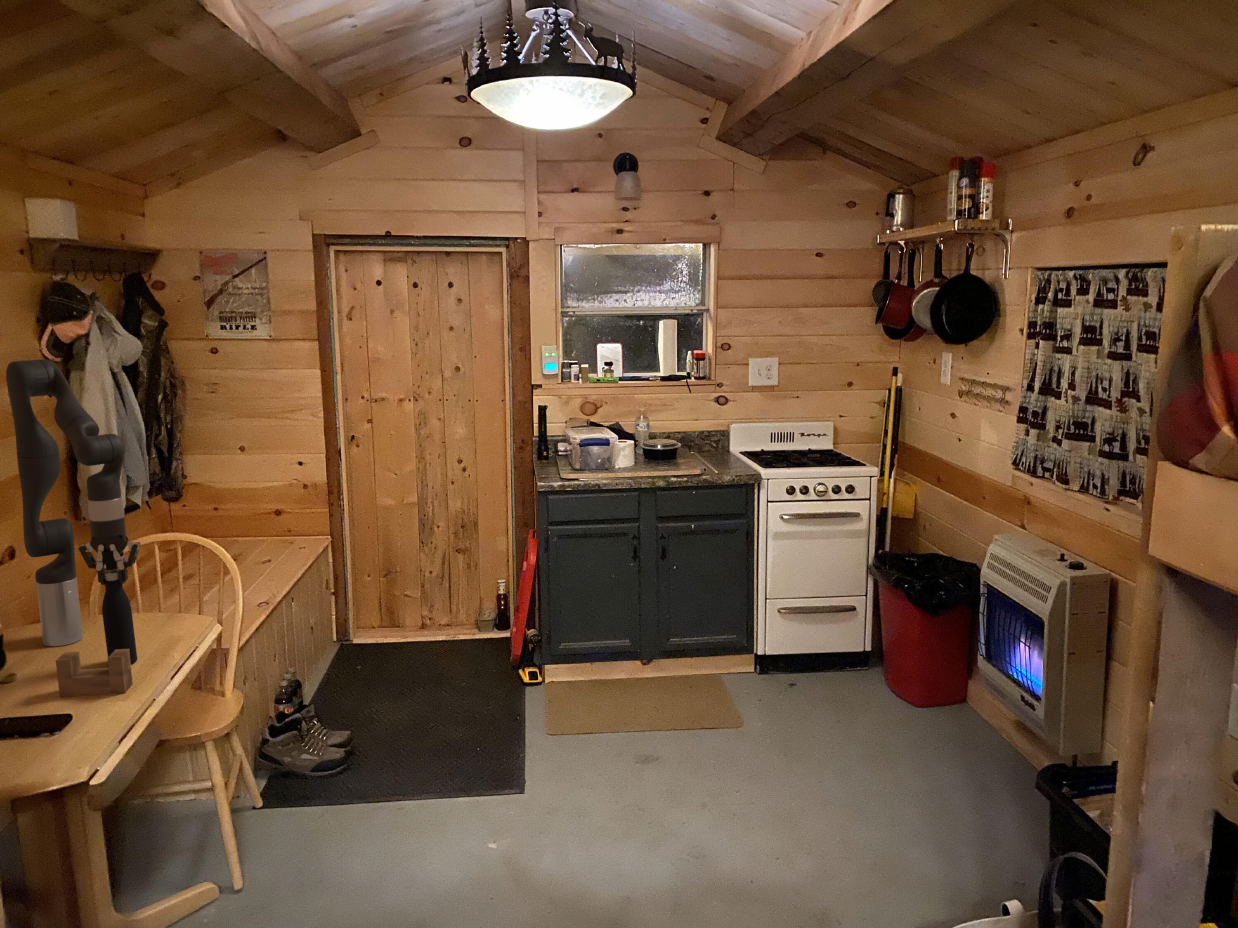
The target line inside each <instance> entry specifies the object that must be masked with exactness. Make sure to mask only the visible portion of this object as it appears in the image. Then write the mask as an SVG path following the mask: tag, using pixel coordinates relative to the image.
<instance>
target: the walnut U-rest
mask: <svg viewBox="0 0 1238 928" xmlns="http://www.w3.org/2000/svg"><path fill="white" fill-rule="evenodd" d="M55 666H56V675H57V684H58V693H59V698H72V697H73V698H74V697H85V696H102V695H103V696H105V695H119V694H126V692H128V691H129V689H131V687H132V686H133V684H134V683H133V674H132V673H133V672H132V664H131V662H130V652H129V649H116V650H115V651H114V652H113V653H112V654H111V655H110V656H109V657H108V656H107V667H104V668H103V667H102V668H100V667H99V668H84V669H83V668H82V669H81V660H80V651H65V652H64V653H63V654H61V655H60V656H59V657H58V658H57V659H55Z"/></svg>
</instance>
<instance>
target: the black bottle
mask: <svg viewBox="0 0 1238 928" xmlns="http://www.w3.org/2000/svg"><path fill="white" fill-rule="evenodd" d="M102 564H105V568H106V572H105V576H106V577H105V578H106V579H105V585H104V587H105V592H104V595H103V600H102V606H101V615H102V622H103V628H104V629H103V630H104V637H105V638H104V639H105V644H106V645H105V646H106V647H105V648H106V653H107V658H108V657H109V656H110V655H111V654H112V653H113V652H114V651H115V650H116V649H129V652H130V662H131V665H134V664H135V663H136V662H138V661H137V660H138V653H137V647H136V635H135V627H134V619H133V611H132V606H131V602H130V600H129V597H128V595H127V593H126V591H125V589H124V587H123V585H124V584H120V581H119V571H118V570H119V566H118V564H117V562H116V561H115V558H114V554H113V551H102Z"/></svg>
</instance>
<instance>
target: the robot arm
mask: <svg viewBox="0 0 1238 928" xmlns="http://www.w3.org/2000/svg"><path fill="white" fill-rule="evenodd" d="M5 371H6V372H5V380H6V386H7V392H8V397H9V402H10V407H11V411H12V417H13V419H12V420H13V424H14V433H15V446H16V458H17V468H18V476H19V483H20V489H21V490H20V491H21V499H22V524H23V525H22V526H23V544H24V548H25V550H26V551H25V552H26V553H27V555H28V556H29V557H30V558H41V557H42V558H43V557H48V556H53V555H54V556H55V555H57V556H56V557H55V558H54V559H53V560H52V561H51V562H48V563H47V564H45V565H44V566H41V567H39V568H38V569H37V570H36V571H35V574H34V577H35V587H36V594H37V603H38V611H39V620H40V627H41V638H42V644H43V646H47V647H59V646H60V647H61V646H66V645H71V644H74V643H77V642H80V640H82V639H83V638H84V635H83V634H84V633H83V623H82V616H81V615H82V614H81V606H80V596H79V586H78V579H77V566H76V565H77V564H76V555H75V554H76V552H75V533H74V528H73V525H72V522H71V521H70V520H69V519H68V518H66V517H63V518H54V519H47V520H40V517H41V512H42V509H43V508H42V507H43V505H44V503H45V501H46V498H47V497H48V495H49V493H50V492H51V490H52V489H53V487H54V486H55V484H56V482H57V481H58V478H59V477H60V474H61V469H62V466H61V457H60V456H61V455H60V448H59V445H58V443H57V441H56V440H55V439H54V437H53V436H52V435H51V434H50V432H49V431H48V430H47V429H46V428H45V427H44V426H43V425H42V423H40V421H39V420H38V418H37V416H36V415H35V413H34V410H33V407H32V403H31V398H33V397H35V398H36V397H46V396H53V397H54V399H56V402H55V407H54V411H53V416H54V421H55V423H56V425H57V427H58V428H59V429H60V430H61V431H62V432H63V434H64V435H65V436H66V437H67V439H68V440H69V442H70V445H71V447H72V449H73V454H74V457H75V459H76V461H77V462H79V463H80V464H81V465H83V466H88V467H93V466H100V465H103V466H102V469H101V470H100V471H97V472H96V473H94V474H91V475H90V476H89V475H88V477H87V479H86V490H87V491H86V493H87V499H88V500H87V501H88V505H87V510H88V511H87V512H88V520H89V531H90V537H91V539H90V541H89V543H83V544H82V545H80V546H79V547H78V551H79V552H80V555H81V557H82V558H83V560H84V562H85V564H86V565H87V568H88V569H93V570H96V573H97V575H96V576H97V581H98V583H100V586H101V585H102V586H105V579H106V578H105V577H106V576H105V572H107V571H106V565H105V564H102V551H113V554H114V558H115V561H116V562H117V567H118V569H117V570H118V571H119V581H120V584H122V585H124V584H125V583H126V582H127V581H128V579H129V572H128V568H130V567H132V566H133V565H135V564H136V561H137V558H138V555H139V551H140V547H141V542H139V541H136V542H134V541H131V540H130V539H129V538H128V536H127V532H126V531H127V530H126V521H125V520H126V519H125V512H126V511H125V508H124V502H123V500H122V492H121V482H120V481H121V476H122V475H121V474H122V469H123V464H124V460H125V453H126V447H125V446H126V445H125V443H124V441H123V439H122V438H121V437H120V436H119V435H117V434H115V433H105V434H100V427H99V424H98V423H97V421H95V420H94V418H93V417H92V416H91V415H90V414H89V412H87V410H86V409H85V408H84V407H83V406H82V404H81V403H80V402H79V400H78V399H77V397H76V394H75V393H74V390H73V389H72V388H71V386H70V384H69V382H68V380H67V379H66V377H65V375H64V374H63V372H62V370H61V369H60V367H58V365H57V364H56V363H55V362H54V361H52V360H51V359H50V360H49V359H44V358H43V359H30V360H29V359H28V360H26V359H25V360H14V361H11V362H9V363H8V364H7V367H6V369H5ZM127 547H128V551H129V555H128V558H126V554H125V549H126V548H127ZM92 550H94V551H95V552H96V554H97V556H96V558H95V557H94V555H93V553H92Z"/></svg>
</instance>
